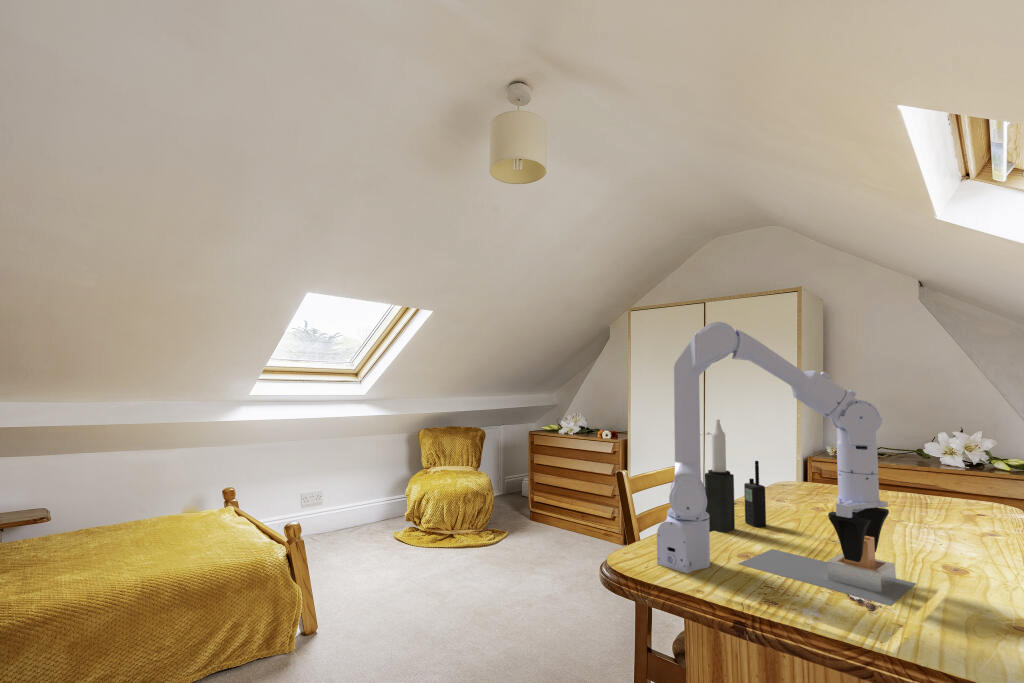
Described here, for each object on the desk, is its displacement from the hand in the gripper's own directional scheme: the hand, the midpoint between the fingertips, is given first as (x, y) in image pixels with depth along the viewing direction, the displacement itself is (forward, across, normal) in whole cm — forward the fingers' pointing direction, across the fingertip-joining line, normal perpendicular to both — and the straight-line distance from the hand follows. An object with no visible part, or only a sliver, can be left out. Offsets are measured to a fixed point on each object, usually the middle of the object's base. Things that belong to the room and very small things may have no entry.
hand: (860, 555), depth 87 cm
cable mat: (+5, -1, +6) cm, 7 cm away
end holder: (+5, 0, 0) cm, 5 cm away
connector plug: (+4, 0, 0) cm, 4 cm away
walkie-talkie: (+5, +25, +29) cm, 39 cm away
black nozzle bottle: (+5, +12, +31) cm, 34 cm away
